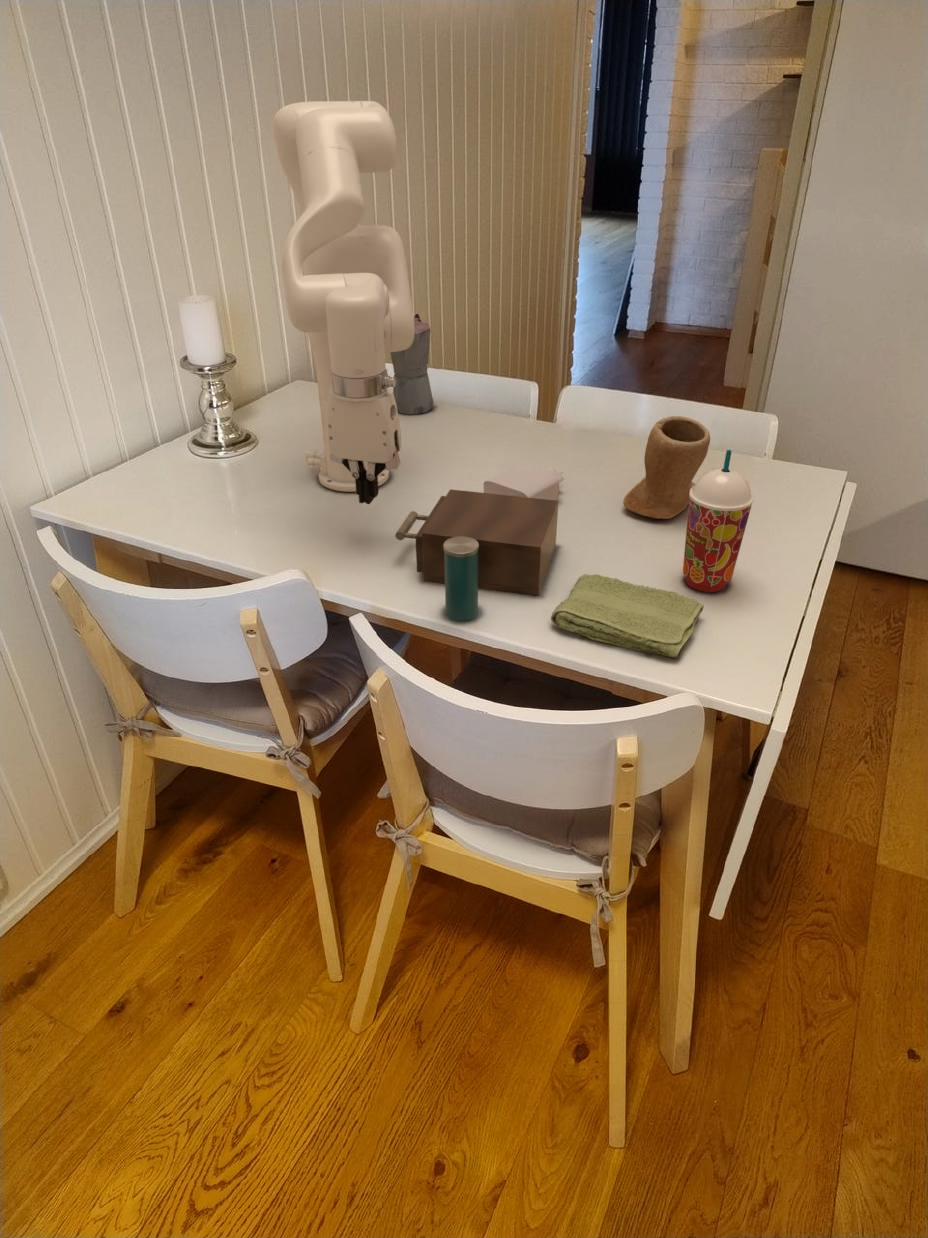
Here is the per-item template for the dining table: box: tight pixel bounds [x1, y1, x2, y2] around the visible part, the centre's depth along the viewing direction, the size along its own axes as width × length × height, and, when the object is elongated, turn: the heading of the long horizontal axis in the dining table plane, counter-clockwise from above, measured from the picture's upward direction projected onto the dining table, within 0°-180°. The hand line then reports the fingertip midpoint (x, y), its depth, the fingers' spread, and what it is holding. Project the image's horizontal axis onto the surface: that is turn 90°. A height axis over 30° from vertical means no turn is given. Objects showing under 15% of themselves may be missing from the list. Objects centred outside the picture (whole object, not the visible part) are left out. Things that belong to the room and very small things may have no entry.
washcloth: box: [550, 574, 705, 658], centre depth 111 cm, size 13×18×3 cm
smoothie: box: [682, 449, 755, 593], centre depth 114 cm, size 8×8×20 cm
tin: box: [443, 536, 479, 622], centre depth 111 cm, size 5×5×10 cm
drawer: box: [394, 495, 446, 574], centre depth 124 cm, size 20×14×6 cm
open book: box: [483, 464, 565, 501], centre depth 142 cm, size 5×9×15 cm
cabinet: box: [422, 489, 559, 596], centre depth 123 cm, size 17×15×8 cm
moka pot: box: [389, 313, 435, 416], centre depth 176 cm, size 10×15×20 cm, turn 171°
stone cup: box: [622, 415, 711, 520], centre depth 137 cm, size 15×12×15 cm
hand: (367, 499), depth 127 cm, fingers closed
